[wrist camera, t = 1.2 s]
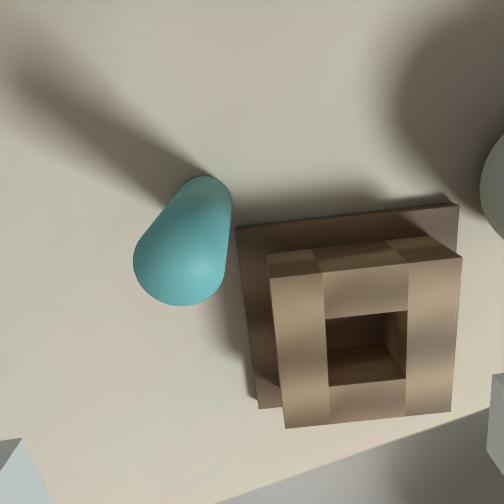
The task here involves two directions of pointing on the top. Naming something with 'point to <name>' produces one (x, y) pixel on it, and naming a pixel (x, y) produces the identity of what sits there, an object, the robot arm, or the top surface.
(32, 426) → the top surface
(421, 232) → the socket
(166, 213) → the peg
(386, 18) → the top surface
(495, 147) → the teacup
